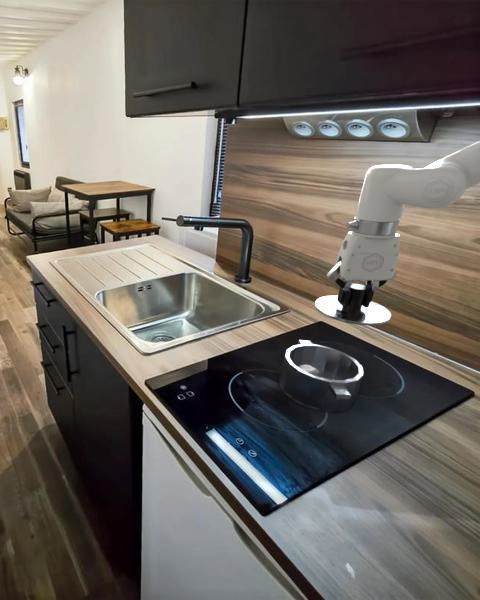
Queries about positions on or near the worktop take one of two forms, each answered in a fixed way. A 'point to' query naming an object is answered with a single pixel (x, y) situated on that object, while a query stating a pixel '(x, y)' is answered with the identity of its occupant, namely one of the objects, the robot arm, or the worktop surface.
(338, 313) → the lid
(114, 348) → the worktop surface
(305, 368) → the dumpling
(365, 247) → the robot arm
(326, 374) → the pot
